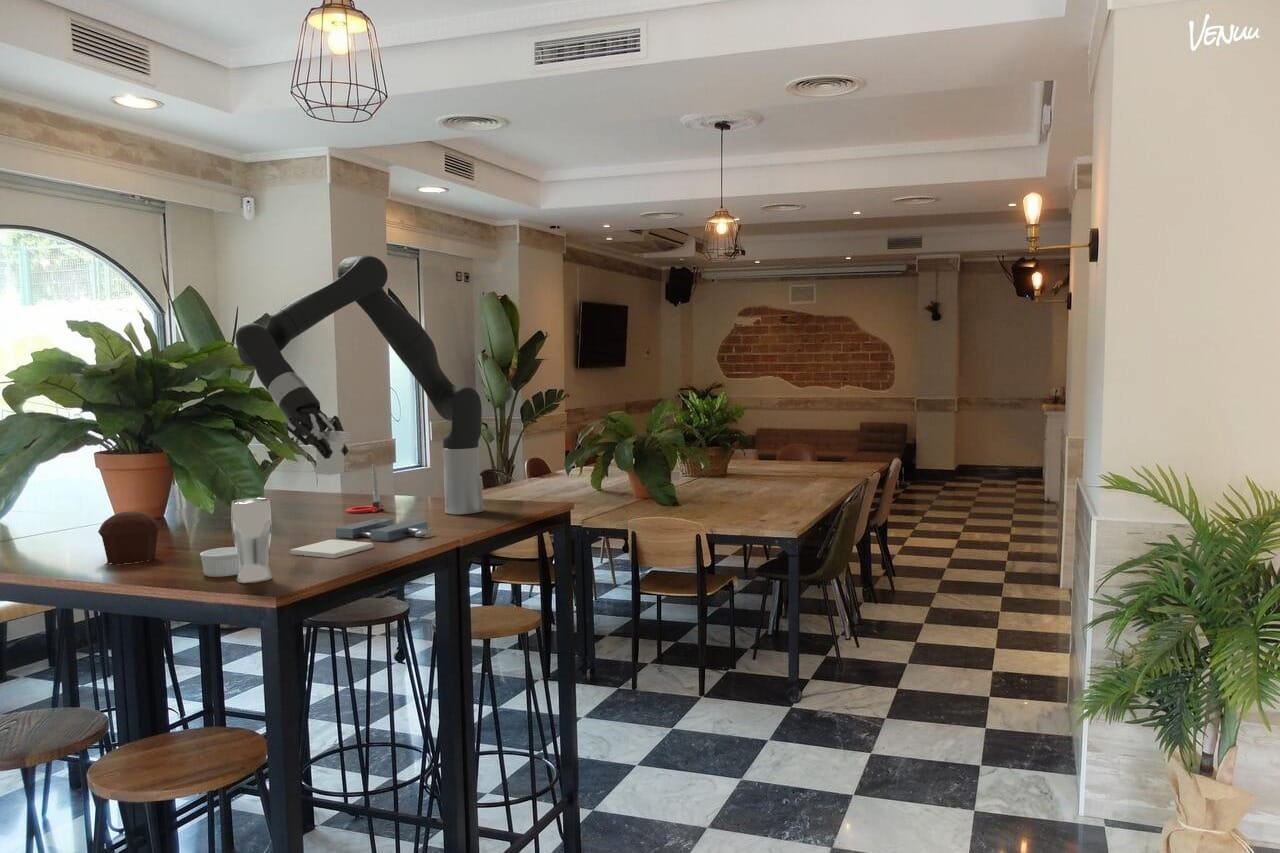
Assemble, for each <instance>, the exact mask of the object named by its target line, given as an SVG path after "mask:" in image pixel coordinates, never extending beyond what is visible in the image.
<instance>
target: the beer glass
mask: <svg viewBox="0 0 1280 853" xmlns="http://www.w3.org/2000/svg"><path fill="white" fill-rule="evenodd" d="M230 519H231V520H230V522H231V525H230V526H231V532H232V539H233V542H234V543H233V544H234V547H236V551H237V556H238V574H237V575H236V582H237V583H240V584H258V583H263V582H267V581H270V580H272V578H273V575H272V571H271V568H270V561H269V555H270V554H269V553H270V546H271V545H270V544H271V537H272V529H273V528H272V526H273V524H272V521H273V520H272V511H271V503H270V499H269V498H266V497H249V498H248V497H247V498H239V499H234V500H232V501H231V517H230Z"/></svg>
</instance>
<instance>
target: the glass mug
mask: <svg viewBox="0 0 1280 853" xmlns="http://www.w3.org/2000/svg"><path fill="white" fill-rule="evenodd" d="M319 433H320V435H321V437H322V439H321V440H324V441H325V442H326V443H327V445H328V446H329V447H330V449H331V450H332V452H333V453H332V455H331V456H330V457H329V458H328V459H325V458H324V457H323V456H322V455H321V454H320V452H319V451H318V450H317V448H316V447H315V458H316V474H317V475H330V476H332V475H338V474H344V473H345V456H344V444H345V443H346V442H350V441H351V438H350V436H351V435H350V434H351V433H350V431H344V432H343V431H327V430H325V431H321V432H319Z"/></svg>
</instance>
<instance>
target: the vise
mask: <svg viewBox="0 0 1280 853" xmlns="http://www.w3.org/2000/svg"><path fill="white" fill-rule="evenodd" d="M434 532H435V530H434V528H429V529H428V521H424V520H423V521H422V520H407V521H403V522H399V523H395V524H394V519H393V518H371V519H367V520H364V521H360V522H359V521H358V522H355V523H350V524H346V525H343V526H338V527H335V537H336V538H342V539H357V538H370V541H374V542H375V541H376V542H378V541H379V542H386V543H387V542H391V541H395V540H399V539H403V538H407V537H410V536H414V537H415V538H416V537H427V536H428V534H431V533H434Z"/></svg>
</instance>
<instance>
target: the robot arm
mask: <svg viewBox="0 0 1280 853" xmlns="http://www.w3.org/2000/svg"><path fill="white" fill-rule="evenodd" d="M388 274H389V273H388V268H387V267H386V264H385V263H384V262H383V261H382V260H381V259H379V258H378V257H376V256H372V255H355V256H349V257H346V258H345V259H343V260H342V261H341V262H340V263H339V265H338V268H337V279H336V280H334V281H332V282H331V283H328V284H326V285H325V286H323V287H321V288H318V289H317V290H314V291H312V292H310V293H307V294H304V295H303V296H300V297H299V298H296V299H294V300H293V301H291V302H290V303H288V304H287V305H284V306H283V307H281V308H280V309H278V310H277V311H276V312H274V313H272V315H271V316H270V317H269V319H268V323H267V326H266V327H264V325H261V324H259V323H255V322H246V323H244V324H242V325H240V327H239V328H237V331H236V332H235V343H236V348H237V353H238V354H237V355H238V357H239V359H240V361H241V362H242V363H243V364H244V365H246V366H248V367H254V369H255V372H256V375H257V377H258V380H259V381H260V382H261V383H262V385H263V386H264V388H265V389H266V390H267V391H268V393H269V394H270V396H271V398H272V400H273V401H274V403H275V404H276V406H277V407H278V408H279V409H280V411H281V412H282V414H283V415H284V416H285V418H286V419H287V420H288V424H287V425H286V426H285V428H286V430H287V431H289V432H290V433H291V434H292V435H293V436H294V437H295V438H297V440H299V441H300V442H301V443H302V444H303V445H305V446H309V445H311V447H313V448H315V449H316V448H317V450H318V451H319V452H320V454H321V455H322V456H323V457H324V458H325V459H328V458H329V457H330V456H331V455H332V453H333V452H332V450H331V449H330V447H329V446H328V445H327V443H326V442H325V441H324V440H321V439H322V437H321V435H320V433H319V432H321V431H343V432H345V430H344V428H343V426H342V423H341V421H340V418H339V417H338V416H337V415H333V417H328V416H327V414H325V413H324V412H323V411H322V410H321V403H320V401H319V400H318V398H317V397H316V395H315V394H314V393H313V391H312V390H311V389H310V388H309V386H308V385H307V384H306V383H305V381H304V380H303V379H302V378H301V377H300V376H299V375H298V374H297V373H296V372H295V370H294V369H293V368H292V366H291V365H290V363H289V362H288V361H287V360H286V359H285V357H284V356H283V354H282V351H283V350H284V349H285V348H286V346H288V345H289V343H290V342H292V340H294V339H295V338H297V337H298V336H300V335H301V334H303V333H304V332H306V331H308V330H309V329H311V328H313V327H314V326H315V325H317V324H318V323H320V322H322V321H323V320H324V319H325V318H328V317H329V316H330V315H332V314H334V313H336V312H337V311H339V310H341V309H343V308H344V307H346V306H348V305H350V304H352V303H354V302H355V303H356V304H357V305H358V306H359V307H360V308H361V309H362V311H364V312H365V313H366V315H367V316H368V317H369V319H370V321H372V322H373V324H374V325H375V327H376V328H377V330H378V331H379V332H380V334H381V335H382V337H383V338H384V339H385V340H386V342H387V343H388V344H389V346H390V347H391V349H392V350H393V351H394V353H395V354H396V356H397V357H398V358H399V360H401V361H402V362H403V364H404V365H405V366H406V368H407V370H409V372H410V374H411V375H412V376H413V377H414V378H415V380H416V381H417V382H418V383H419V385H420V386H421V388H422V389H423V392H424V393H425V395H426V396H427V398H428V400H429V401H430V403H431V404H432V406H433V408H434V409H435V412H436V413H437V414H438V415H439V417H440V418H442V419H444V420H446V421H449V422H451V429H450V432H449V433H448V434H447V435H446V436H444V437H443V439H442V455H443V460H442V461H443V484H444V511H445V514H447V515H470V514H477V513H480V512H484V501H483V500H484V497H483V494H484V493H483V476H482V475H480V456H479V454H480V452H479V441H480V438H481V435H482V415H483V414H482V413H483V412H482V410H483V409H482V408H483V407H482V400H481V398H480V397H481V396H480V395H479V393H478V392H477V390H475V389H474V388H472V387H470V386H456V385H454V383H452V382H451V381H450V380H449V378H448V377H447V376H446V374H445V373H444V372H443V370H442V368H441V367H440V364H439V359H438V354H437V350H436V346H435V344H434V341H433V340H432V338H431V337H430V336H429V334H428V333H427V332H426V330H425V329H424V327H423V326H422V324H421V323H420V322H419V321H418V320H417V319H416V318H414V317H413V316H412V315H411V314H410V313H409V312H408V311H406V310H405V309H404V308H403V307H402V306H400V305H399V304H397V302H395V301H394V300H393V299H392V298H391V297H390V296H389V294H388V293H387V292H386V291H385V290H384V287H385V286H386V283H387V281H388V276H389V275H388ZM303 434H304V436H303ZM348 453H349V448H348V447H347V445H346V444H345V443H344V457H345V456H346V455H347V454H348Z"/></svg>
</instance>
